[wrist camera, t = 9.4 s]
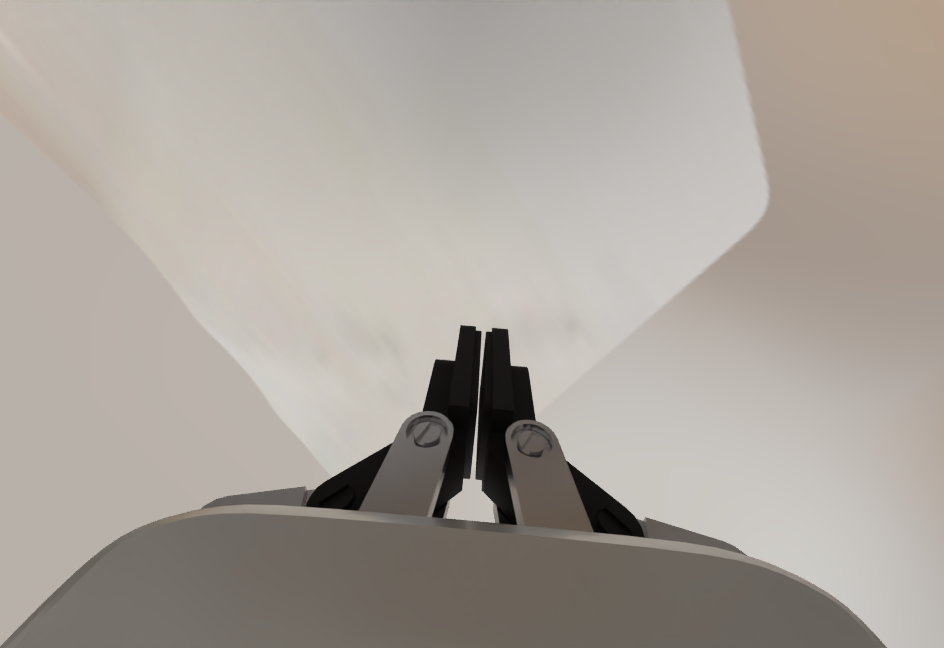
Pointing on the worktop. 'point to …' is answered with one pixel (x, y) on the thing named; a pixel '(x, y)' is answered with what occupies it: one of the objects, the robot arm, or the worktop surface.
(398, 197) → the worktop surface
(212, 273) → the worktop surface
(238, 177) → the worktop surface
